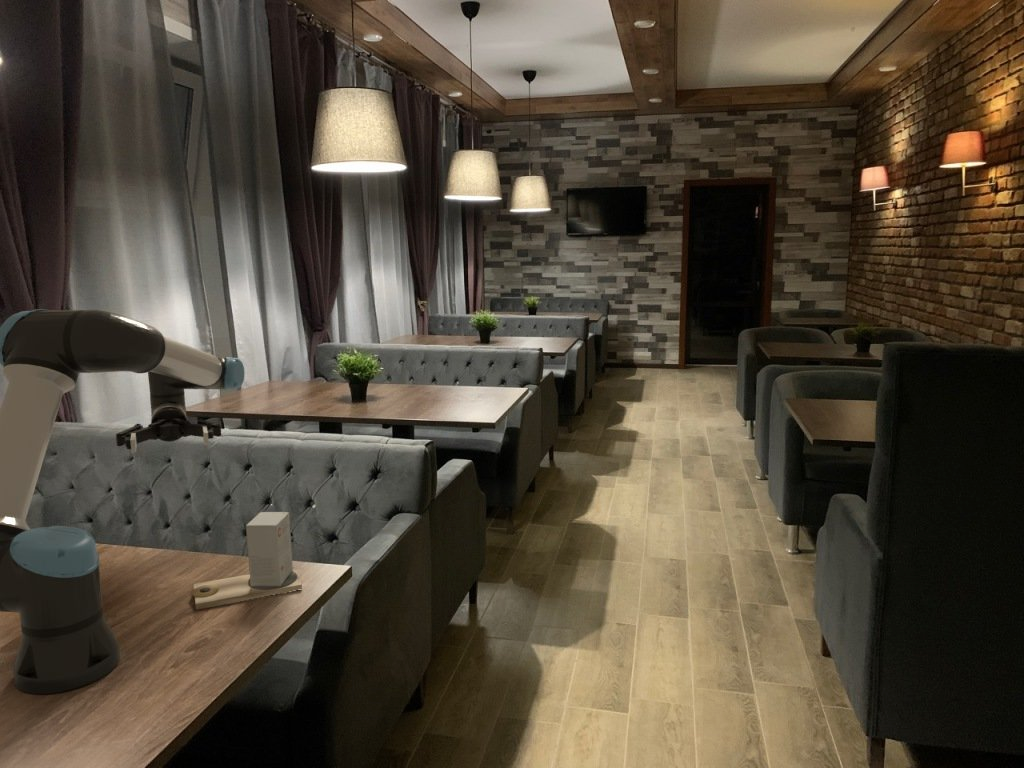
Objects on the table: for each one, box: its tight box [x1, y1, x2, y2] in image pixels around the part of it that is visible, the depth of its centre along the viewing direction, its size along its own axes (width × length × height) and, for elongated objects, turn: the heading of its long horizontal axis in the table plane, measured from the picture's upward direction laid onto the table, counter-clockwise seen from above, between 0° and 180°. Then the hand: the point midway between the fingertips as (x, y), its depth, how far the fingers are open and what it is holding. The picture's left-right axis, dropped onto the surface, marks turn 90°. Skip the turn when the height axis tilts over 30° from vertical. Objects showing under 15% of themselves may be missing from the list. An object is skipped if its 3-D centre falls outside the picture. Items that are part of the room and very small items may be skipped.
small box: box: [245, 511, 294, 586], centre depth 156 cm, size 8×6×13 cm
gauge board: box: [191, 566, 303, 611], centre depth 155 cm, size 10×20×2 cm, turn 115°
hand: (170, 442), depth 154 cm, fingers open, 13 cm apart
